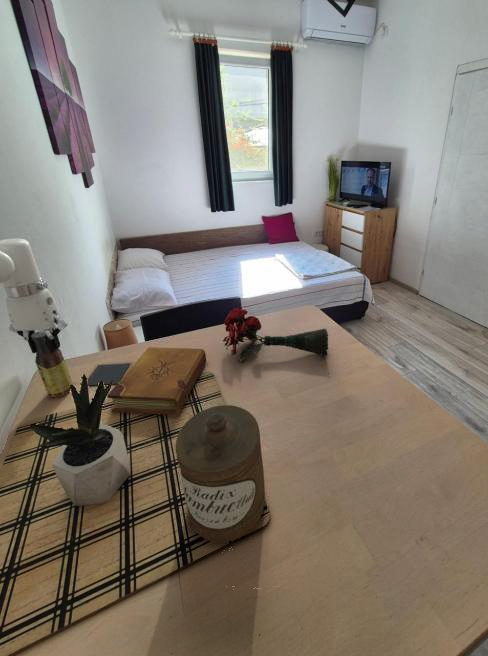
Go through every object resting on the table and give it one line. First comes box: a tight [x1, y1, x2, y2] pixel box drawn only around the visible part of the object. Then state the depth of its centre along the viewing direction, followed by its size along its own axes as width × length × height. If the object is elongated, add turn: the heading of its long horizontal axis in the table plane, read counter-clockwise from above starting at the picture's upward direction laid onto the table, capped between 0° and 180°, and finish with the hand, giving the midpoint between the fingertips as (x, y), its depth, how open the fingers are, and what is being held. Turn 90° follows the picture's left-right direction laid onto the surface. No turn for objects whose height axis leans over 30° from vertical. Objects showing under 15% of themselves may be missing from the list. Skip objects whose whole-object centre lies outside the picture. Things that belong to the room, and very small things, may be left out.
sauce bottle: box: [32, 330, 73, 398], centre depth 91 cm, size 7×6×20 cm
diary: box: [106, 346, 207, 416], centre depth 95 cm, size 23×19×6 cm
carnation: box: [222, 307, 329, 363], centre depth 111 cm, size 16×18×35 cm
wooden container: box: [175, 404, 266, 544], centre depth 60 cm, size 15×15×22 cm
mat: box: [87, 362, 131, 387], centre depth 101 cm, size 10×10×1 cm
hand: (46, 349), depth 89 cm, fingers closed on sauce bottle, 4 cm apart
